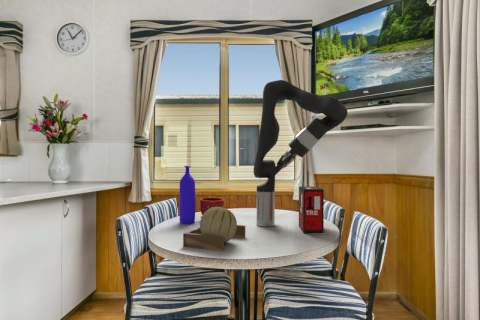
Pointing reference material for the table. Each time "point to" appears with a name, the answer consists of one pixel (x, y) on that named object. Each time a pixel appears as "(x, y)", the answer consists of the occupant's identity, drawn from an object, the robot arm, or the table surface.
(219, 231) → the cantaloupe
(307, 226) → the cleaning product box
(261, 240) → the table surface
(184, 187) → the bottle
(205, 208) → the plant pot
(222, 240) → the wooden serving tray
